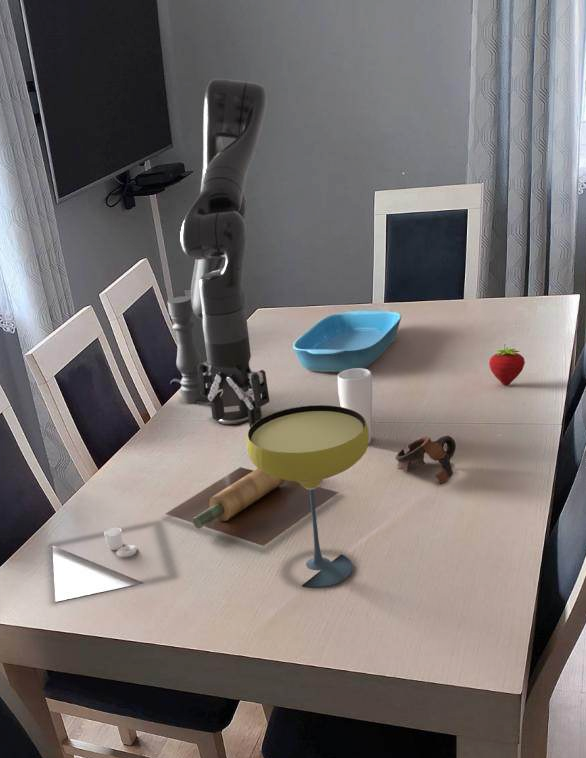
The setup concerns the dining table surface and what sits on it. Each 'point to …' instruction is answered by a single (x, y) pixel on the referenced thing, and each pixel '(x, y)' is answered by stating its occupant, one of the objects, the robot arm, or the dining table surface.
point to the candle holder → (186, 348)
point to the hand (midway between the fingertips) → (237, 422)
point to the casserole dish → (347, 340)
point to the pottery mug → (435, 453)
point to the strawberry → (506, 365)
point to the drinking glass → (356, 392)
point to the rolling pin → (237, 497)
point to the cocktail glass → (310, 461)
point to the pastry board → (256, 509)
